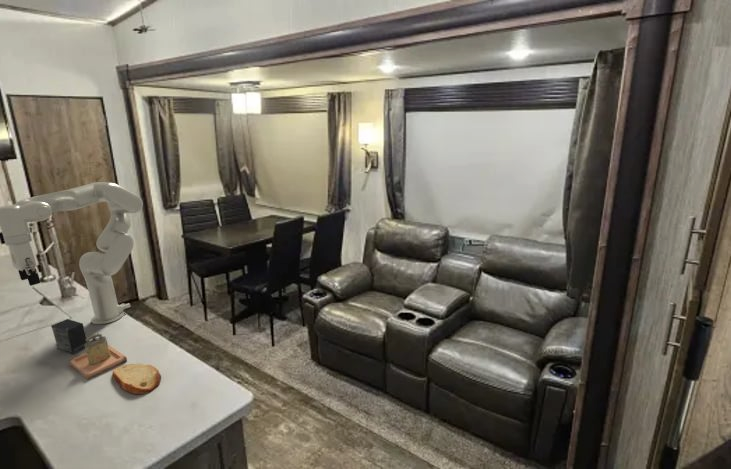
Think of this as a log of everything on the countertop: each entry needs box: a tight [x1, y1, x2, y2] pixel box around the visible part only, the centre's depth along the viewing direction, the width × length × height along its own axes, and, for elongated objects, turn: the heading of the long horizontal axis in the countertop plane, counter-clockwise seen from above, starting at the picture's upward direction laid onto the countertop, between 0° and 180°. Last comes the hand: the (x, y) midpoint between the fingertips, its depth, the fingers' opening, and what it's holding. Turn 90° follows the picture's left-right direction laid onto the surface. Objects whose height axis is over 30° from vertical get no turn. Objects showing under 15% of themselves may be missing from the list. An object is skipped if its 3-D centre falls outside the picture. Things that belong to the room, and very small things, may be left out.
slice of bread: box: [111, 363, 162, 395], centre depth 135 cm, size 18×18×4 cm
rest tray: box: [68, 344, 128, 380], centre depth 146 cm, size 13×16×2 cm
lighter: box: [84, 333, 111, 365], centre depth 145 cm, size 7×4×10 cm, turn 144°
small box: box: [50, 318, 87, 355], centre depth 155 cm, size 11×6×10 cm, turn 65°
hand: (30, 281), depth 150 cm, fingers open, 9 cm apart
